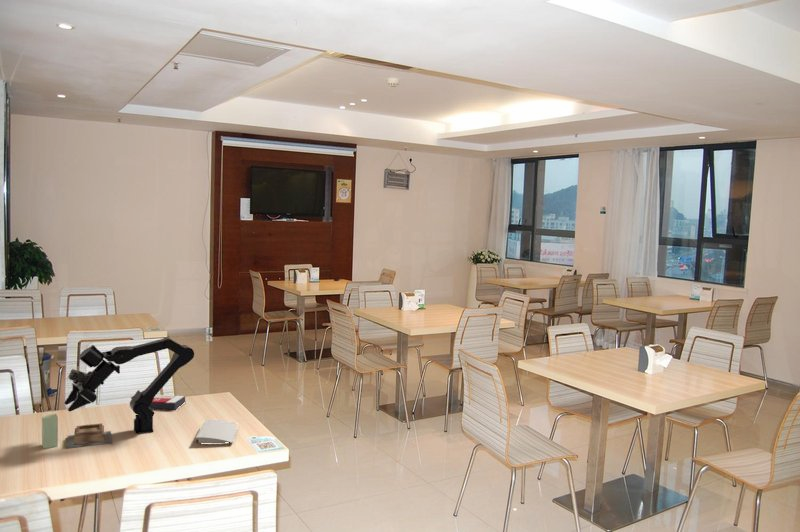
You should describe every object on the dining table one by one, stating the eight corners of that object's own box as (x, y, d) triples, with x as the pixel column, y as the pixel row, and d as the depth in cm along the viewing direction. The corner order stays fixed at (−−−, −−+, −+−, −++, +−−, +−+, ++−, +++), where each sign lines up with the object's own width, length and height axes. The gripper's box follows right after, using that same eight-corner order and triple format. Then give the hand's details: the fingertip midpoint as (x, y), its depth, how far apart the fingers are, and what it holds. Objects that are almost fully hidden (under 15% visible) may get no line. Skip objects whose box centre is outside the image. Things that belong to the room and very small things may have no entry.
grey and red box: (154, 394, 281) (185, 394, 280) (154, 403, 282) (185, 403, 280) (142, 401, 270) (174, 401, 269) (142, 410, 271) (175, 411, 269)
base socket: (110, 432, 240) (110, 421, 240) (111, 443, 230) (111, 431, 229) (67, 437, 234) (67, 425, 233) (66, 448, 223) (66, 436, 223)
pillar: (56, 442, 228) (56, 413, 227) (57, 446, 224) (57, 417, 224) (42, 444, 225) (41, 415, 225) (43, 448, 222) (43, 419, 221)
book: (190, 448, 229) (190, 438, 229) (201, 427, 252) (202, 418, 251) (232, 448, 231) (232, 438, 231) (239, 427, 254) (240, 418, 253)
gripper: (79, 356, 236) (46, 388, 231) (86, 367, 221) (52, 401, 216) (101, 374, 242) (70, 405, 236) (110, 385, 227) (77, 419, 221)
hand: (66, 407), depth 227 cm, fingers open, 9 cm apart
